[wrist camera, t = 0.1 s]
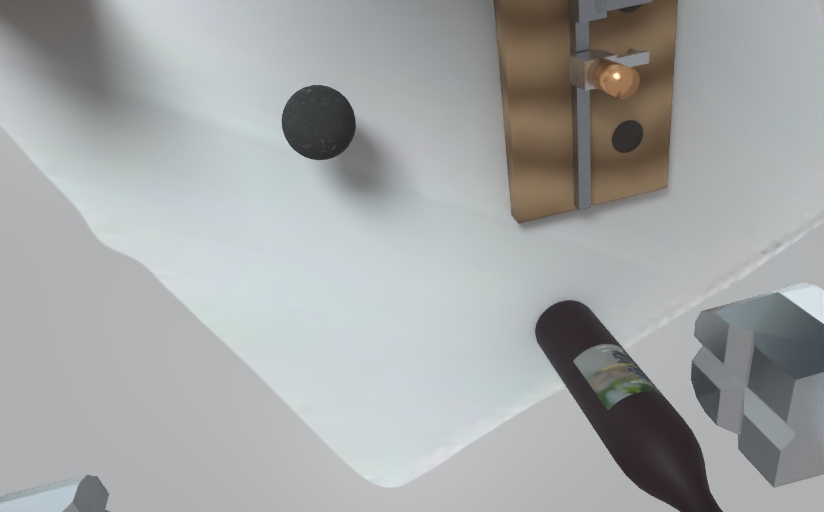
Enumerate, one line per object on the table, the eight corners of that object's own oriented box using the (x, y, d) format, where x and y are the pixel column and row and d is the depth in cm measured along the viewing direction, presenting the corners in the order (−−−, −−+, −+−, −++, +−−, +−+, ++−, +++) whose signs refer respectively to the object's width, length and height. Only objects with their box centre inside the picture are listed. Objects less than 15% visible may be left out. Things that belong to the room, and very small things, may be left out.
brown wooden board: (489, -56, 50) (497, -55, 48) (669, -89, 52) (683, -90, 50) (511, 215, 63) (519, 223, 61) (656, 180, 64) (667, 188, 62)
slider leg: (563, 52, 53) (608, 71, 46) (634, 37, 54) (690, 53, 47) (564, 80, 55) (608, 102, 48) (634, 65, 55) (688, 84, 48)
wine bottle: (602, 311, 71) (794, 530, 45) (566, 357, 73) (730, 590, 47) (558, 289, 68) (735, 509, 42) (521, 337, 70) (670, 574, 44)
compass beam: (560, -60, 49) (577, -59, 47) (635, -74, 50) (657, -75, 47) (568, 206, 61) (582, 219, 58) (629, 192, 62) (646, 204, 59)
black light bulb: (358, 100, 54) (375, 133, 45) (314, 145, 55) (322, 185, 46) (312, 53, 51) (321, 78, 43) (266, 100, 52) (266, 134, 44)
